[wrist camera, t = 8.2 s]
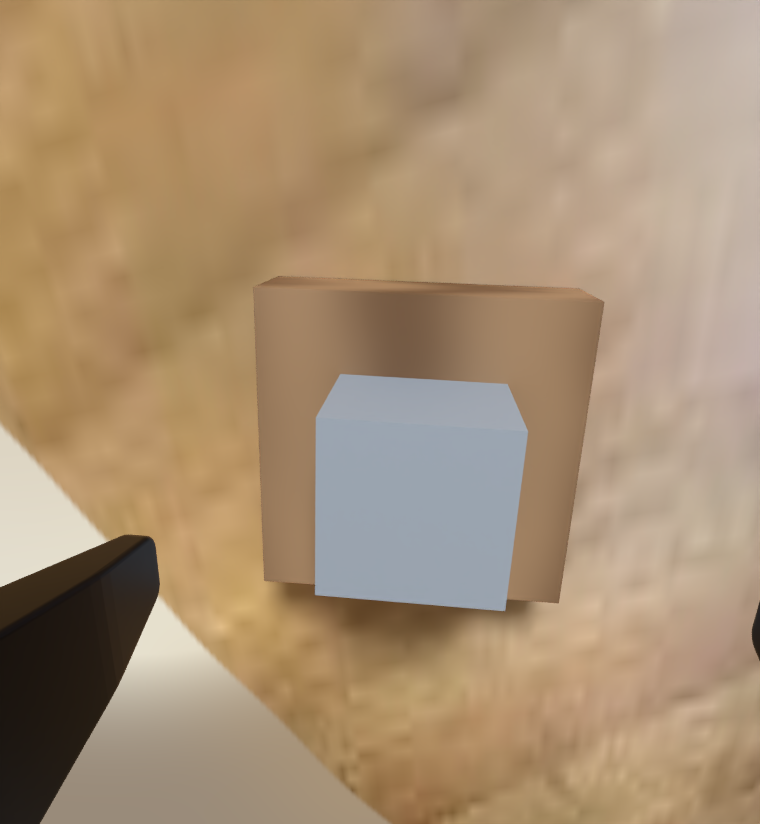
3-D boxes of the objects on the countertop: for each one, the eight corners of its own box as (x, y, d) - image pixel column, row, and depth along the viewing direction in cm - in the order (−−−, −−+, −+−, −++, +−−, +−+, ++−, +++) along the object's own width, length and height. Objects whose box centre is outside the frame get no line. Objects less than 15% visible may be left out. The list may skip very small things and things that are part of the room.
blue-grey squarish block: (507, 383, 18) (528, 431, 14) (490, 532, 19) (505, 611, 16) (340, 374, 18) (315, 417, 14) (337, 520, 20) (314, 594, 16)
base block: (579, 288, 20) (604, 301, 17) (543, 554, 23) (558, 603, 20) (278, 276, 20) (253, 287, 17) (284, 536, 23) (264, 580, 21)
